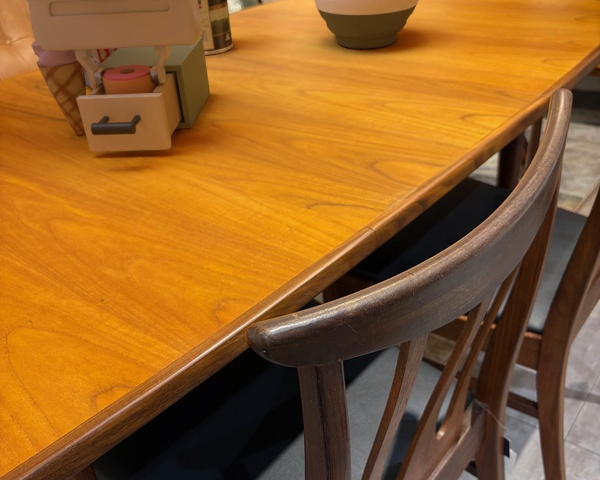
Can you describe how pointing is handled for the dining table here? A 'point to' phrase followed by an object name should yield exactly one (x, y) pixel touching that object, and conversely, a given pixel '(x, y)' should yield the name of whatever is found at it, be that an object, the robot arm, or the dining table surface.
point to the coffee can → (215, 26)
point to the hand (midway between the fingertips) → (130, 83)
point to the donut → (128, 80)
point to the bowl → (365, 20)
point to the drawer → (132, 117)
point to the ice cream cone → (64, 82)
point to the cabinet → (187, 68)
